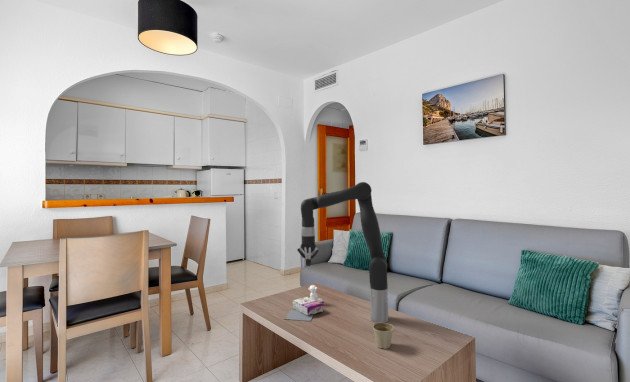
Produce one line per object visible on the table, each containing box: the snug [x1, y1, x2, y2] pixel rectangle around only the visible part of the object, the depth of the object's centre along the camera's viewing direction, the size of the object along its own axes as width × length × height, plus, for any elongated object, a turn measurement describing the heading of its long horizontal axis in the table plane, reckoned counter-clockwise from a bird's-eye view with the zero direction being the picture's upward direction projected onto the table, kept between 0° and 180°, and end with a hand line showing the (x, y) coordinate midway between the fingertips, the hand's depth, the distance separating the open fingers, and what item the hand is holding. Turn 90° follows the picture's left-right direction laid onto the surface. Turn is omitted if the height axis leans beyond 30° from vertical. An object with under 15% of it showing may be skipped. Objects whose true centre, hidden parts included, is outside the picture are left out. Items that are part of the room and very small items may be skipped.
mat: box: [285, 309, 315, 322], centre depth 178 cm, size 15×13×1 cm
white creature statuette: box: [307, 284, 323, 303], centre depth 195 cm, size 10×9×12 cm
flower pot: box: [372, 322, 394, 350], centre depth 143 cm, size 9×9×9 cm
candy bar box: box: [292, 296, 324, 316], centre depth 185 cm, size 11×5×16 cm
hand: (308, 265), depth 177 cm, fingers closed
